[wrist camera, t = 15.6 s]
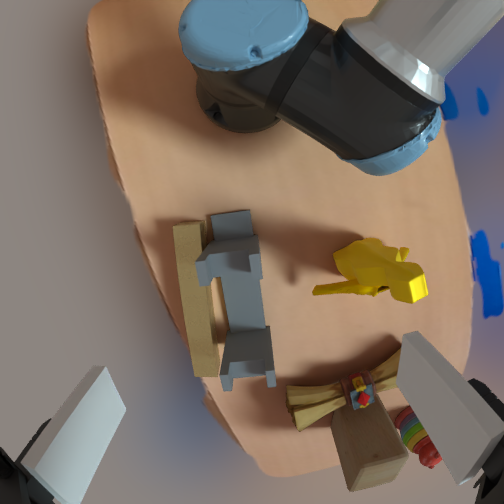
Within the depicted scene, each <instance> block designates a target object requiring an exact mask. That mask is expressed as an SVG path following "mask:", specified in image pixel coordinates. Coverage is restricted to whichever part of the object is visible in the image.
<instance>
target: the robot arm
mask: <svg viewBox="0 0 504 504" xmlns="http://www.w3.org/2000/svg"><path fill="white" fill-rule="evenodd" d="M503 16H504V0H379V1H378V2H377V4H376V5H375V7H374V8H373V9H372V11H371V12H370V14H368V15H367V16H365V17H356V18H348V19H345V20H344V21H343V22H342V24H341V25H340V27H339V28H338V30H337V31H334V30H332V29H330V28H329V27H327V26H325V25H323V24H321V23H319V22H318V21H316V20H314V19H312V18H310V17H309V16H308V10H307V8H306V5H305V4H304V3H303V2H302V1H301V0H191V2H190V3H189V4H188V5H187V6H186V8H185V10H184V11H183V13H182V15H181V18H180V21H179V37H180V40H181V43H182V50H183V53H184V55H185V56H186V57H187V59H188V60H190V62H191V64H192V66H193V68H194V70H195V71H196V73H197V75H198V79H197V84H196V93H197V98H198V102H199V104H200V106H201V108H202V110H203V111H204V113H205V114H206V115H207V117H208V118H209V119H210V120H211V121H212V122H214V123H215V124H216V125H218V126H220V127H222V128H224V129H226V130H229V131H233V132H238V133H253V132H258V131H262V130H265V129H267V128H269V127H271V126H273V125H275V124H276V123H277V122H279V121H280V120H281V119H282V120H283V121H285V122H287V123H288V124H290V125H292V126H294V127H295V128H297V129H299V130H300V131H302V132H303V133H305V134H307V135H308V136H310V137H311V138H313V139H315V140H316V141H318V142H319V143H321V144H322V145H324V146H325V147H327V148H328V149H330V150H331V151H333V152H334V153H335V154H336V155H337V156H338V157H339V158H340V159H341V160H343V161H346V162H348V163H351V164H352V165H354V166H355V167H357V168H359V169H360V170H362V171H363V172H365V173H367V174H370V175H375V176H384V175H389V174H392V173H395V172H397V171H399V170H401V169H403V168H405V167H406V166H408V165H410V164H411V163H412V162H414V161H415V160H416V159H417V158H419V157H420V156H421V155H422V154H423V153H424V152H425V151H426V149H427V148H428V145H427V144H428V143H429V142H430V141H432V140H434V139H435V137H436V136H437V134H438V132H439V129H440V126H441V113H440V111H439V108H438V106H440V105H441V104H442V103H443V102H444V100H445V89H444V77H445V76H446V74H447V73H448V72H449V71H450V70H451V69H452V68H453V67H454V66H455V65H456V64H457V63H458V62H459V61H460V60H461V59H462V58H463V57H464V56H465V55H466V54H467V53H468V52H469V51H470V50H471V49H472V48H473V47H474V46H475V45H476V44H477V43H478V42H479V41H480V40H481V39H482V38H483V36H485V34H486V33H487V32H488V31H489V30H490V29H491V28H492V27H493V26H494V25H495V24H496V23H497V22H498V21H499V20H500V19H501V18H502V17H503ZM396 384H397V386H398V388H399V389H400V391H401V392H402V394H403V395H404V397H405V398H406V400H407V401H408V403H409V405H410V406H411V408H412V409H413V411H414V413H415V414H416V416H417V417H418V419H419V421H420V422H421V424H422V425H423V427H424V429H425V430H426V432H427V434H428V435H429V437H430V439H431V440H432V442H433V444H434V445H435V447H436V449H437V450H438V452H439V454H440V455H441V457H442V459H443V461H444V462H445V464H446V466H447V468H448V469H449V471H450V473H451V474H452V476H453V478H454V480H455V482H456V484H457V485H458V486H459V485H461V484H463V483H464V482H466V481H468V480H469V479H471V478H473V477H474V476H475V475H476V474H477V473H478V471H479V470H480V469H481V467H482V469H483V470H484V473H483V475H482V476H481V477H480V479H478V481H477V482H476V483H475V485H474V487H473V488H476V487H477V486H478V485H479V484H480V486H479V490H478V494H477V497H476V501H475V504H504V404H503V403H502V402H501V401H500V400H499V399H497V396H496V395H495V394H493V393H491V390H490V389H489V388H488V387H487V386H486V385H485V384H484V383H482V382H480V381H478V380H476V379H474V378H473V379H471V380H469V381H466V380H465V379H464V377H463V376H462V375H461V374H460V373H459V372H458V371H457V370H456V369H455V368H454V367H453V366H452V365H451V364H450V363H449V362H448V361H447V360H446V359H445V358H444V357H443V356H442V355H441V354H440V353H439V352H438V351H437V350H436V349H435V348H434V347H433V346H432V345H431V344H430V343H429V342H428V341H427V340H426V339H425V338H424V337H423V336H422V335H421V334H420V333H419V332H418V331H415V332H411V333H407V334H404V335H403V338H402V346H401V354H400V360H399V367H398V373H397V378H396ZM125 411H126V408H125V406H124V404H123V402H122V400H121V398H120V396H119V394H118V392H117V389H116V388H115V385H114V383H113V381H112V379H111V377H110V374H109V372H108V370H107V367H106V366H93V367H92V368H91V369H90V370H89V372H88V373H87V374H86V375H85V377H84V378H83V379H82V380H81V382H80V383H79V384H78V385H77V387H76V388H75V389H74V391H73V392H72V393H71V394H70V396H69V397H68V398H67V400H66V401H65V402H64V403H63V405H62V406H61V407H60V409H59V410H58V411H57V413H56V414H55V415H54V417H53V418H52V419H49V420H47V421H46V422H45V423H43V424H42V425H41V427H40V428H39V429H38V431H37V432H36V434H35V435H34V436H33V437H32V440H30V441H29V443H28V444H27V446H26V447H25V448H24V450H23V451H22V453H21V454H20V455H19V457H18V458H17V460H16V461H15V462H13V461H12V460H11V458H10V457H9V456H8V455H7V454H6V452H5V451H4V450H3V449H2V448H1V447H0V504H55V503H54V502H53V501H52V500H53V498H54V497H55V498H56V499H57V500H58V501H59V502H61V503H62V504H80V503H81V501H82V499H83V497H84V495H85V492H86V490H87V488H88V486H89V484H90V482H91V480H92V478H93V475H94V473H95V471H96V469H97V467H98V465H99V463H100V461H101V459H102V457H103V455H104V453H105V451H106V449H107V446H108V445H109V442H110V441H111V439H112V437H113V435H114V433H115V431H116V429H117V427H118V425H119V423H120V421H121V419H122V417H123V415H124V413H125Z"/></svg>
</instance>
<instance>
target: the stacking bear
mask: <svg viewBox="0 0 504 504" xmlns="http://www.w3.org/2000/svg"><path fill="white" fill-rule="evenodd" d="M395 426H396V427H397V428H398V429H399V430H400V434H401V439H402V441H403V443H404V445H405V446H406V447H407V448H408V449H409V450H410V451H411V452H412V453H415V454H419V460H420V463H421V464H422V465H424V466H428V467H429V468H431V469H432V468H434V465H436V464H437V463H439V462H440V461H441V460H442V457H441V455H440V454H439V452H438V450H437V449H436V447H435V445H434V444H433V442H432V440H431V439H430V437H429V435H428V434H427V432H426V430H425V429H424V427H423V425H422V424H421V422H420V421H419V419H418V417H417V416H416V414H415V413H414V411H413V409H412V408H411V406H409V407H408V408H406V409H405V410H403V411H402V412H401V413H400V414H399V415H398V417H397V418H396V421H395Z"/></svg>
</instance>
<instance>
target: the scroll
mask: <svg viewBox="0 0 504 504" xmlns="http://www.w3.org/2000/svg"><path fill="white" fill-rule="evenodd" d="M400 354H401V348H400V349H399V350H398V351H397V352H396V353H395V354H393V355H392V356H391V357H390V358H389V359H388V360H387V361H385V362H384V363H382V364H381V365H379V366H378V367H376V368H375V369H373V370H371V371H368V370H365V371H363V372H361V373H360V372H357V373H355V374H352V375H349V376H348V377H347V378H344V379H340V382H339V383H336V384H332V385H325V386H316V387H300V386H289V385H286V389H287V393H286V398H287V400H286V407H287V408H288V412H289V413H291V416H292V422H293V423H294V425H295V426H297V430H298V431H299V432H300V431H302V430H303V429H305V428H306V427H308V426H309V425H311V424H312V423H314V422H315V421H317V420H318V419H320V418H322V417H323V416H325V415H326V414H328V413H330V412H332V411H334V410H336V409H338V408H339V407H342V406H344V405H348V406H351V405H353V409H354V410H355V409H358V408H362V407H363V408H364V407H366V406H367V405H369V404H371V403H373V402H375V400H374V396H375V395H376V393H378V392H381V391H384V390H389V389H392V388H396V387H398V386H397V384H396V378H397V373H398V367H399V360H400Z"/></svg>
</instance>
